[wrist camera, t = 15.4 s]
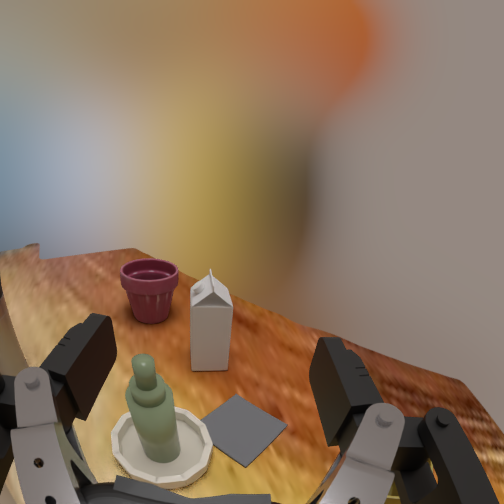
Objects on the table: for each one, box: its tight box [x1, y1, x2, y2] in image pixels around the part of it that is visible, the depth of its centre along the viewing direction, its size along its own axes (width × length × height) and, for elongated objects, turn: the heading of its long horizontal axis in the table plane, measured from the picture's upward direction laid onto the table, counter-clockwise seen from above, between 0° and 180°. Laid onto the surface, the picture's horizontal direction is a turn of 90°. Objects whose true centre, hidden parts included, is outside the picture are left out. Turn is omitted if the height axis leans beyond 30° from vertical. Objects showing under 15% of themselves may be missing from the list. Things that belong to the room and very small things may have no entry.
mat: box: [200, 394, 287, 468], centre depth 37 cm, size 11×11×1 cm
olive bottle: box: [125, 354, 181, 463], centre depth 28 cm, size 6×6×18 cm
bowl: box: [111, 407, 213, 490], centre depth 31 cm, size 14×14×3 cm
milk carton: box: [190, 269, 233, 371], centre depth 50 cm, size 7×7×19 cm
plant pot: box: [120, 259, 178, 324], centre depth 64 cm, size 14×14×13 cm
